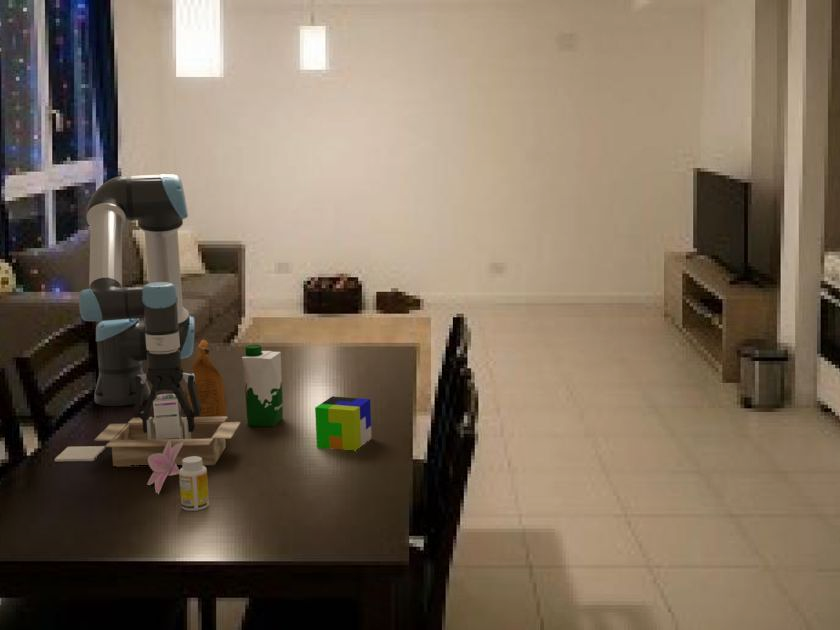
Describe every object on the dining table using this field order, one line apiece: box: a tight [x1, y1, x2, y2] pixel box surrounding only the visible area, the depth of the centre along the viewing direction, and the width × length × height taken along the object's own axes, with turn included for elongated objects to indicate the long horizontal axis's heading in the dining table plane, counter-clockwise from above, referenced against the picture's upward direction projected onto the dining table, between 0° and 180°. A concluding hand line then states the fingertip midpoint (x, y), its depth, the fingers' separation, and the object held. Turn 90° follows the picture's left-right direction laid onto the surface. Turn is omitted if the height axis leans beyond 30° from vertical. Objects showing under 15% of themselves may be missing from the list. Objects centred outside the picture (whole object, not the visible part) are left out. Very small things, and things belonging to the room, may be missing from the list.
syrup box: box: [152, 392, 183, 439], centre depth 247 cm, size 6×6×14 cm
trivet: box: [54, 445, 106, 462], centre depth 251 cm, size 9×9×1 cm
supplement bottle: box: [178, 456, 210, 512], centre depth 216 cm, size 6×6×10 cm
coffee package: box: [186, 339, 227, 422], centre depth 268 cm, size 10×12×22 cm
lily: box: [146, 440, 183, 495], centre depth 229 cm, size 12×12×10 cm
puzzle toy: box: [314, 395, 372, 452], centre depth 254 cm, size 10×10×10 cm
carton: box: [94, 415, 241, 467], centre depth 248 cm, size 21×31×6 cm
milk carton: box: [241, 344, 284, 427], centre depth 272 cm, size 9×9×20 cm
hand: (170, 445), depth 248 cm, fingers open, 8 cm apart
